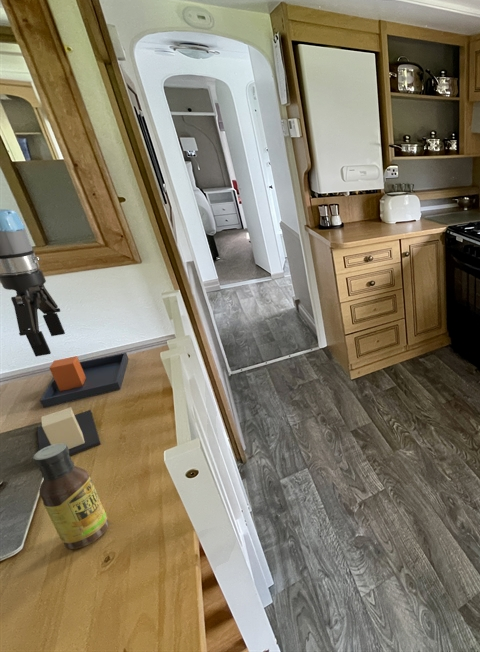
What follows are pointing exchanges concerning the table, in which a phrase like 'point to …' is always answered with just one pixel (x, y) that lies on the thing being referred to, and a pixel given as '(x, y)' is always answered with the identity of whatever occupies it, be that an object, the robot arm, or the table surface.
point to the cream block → (62, 428)
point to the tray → (90, 380)
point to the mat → (87, 429)
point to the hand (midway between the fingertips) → (51, 344)
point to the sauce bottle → (70, 498)
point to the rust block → (68, 373)
